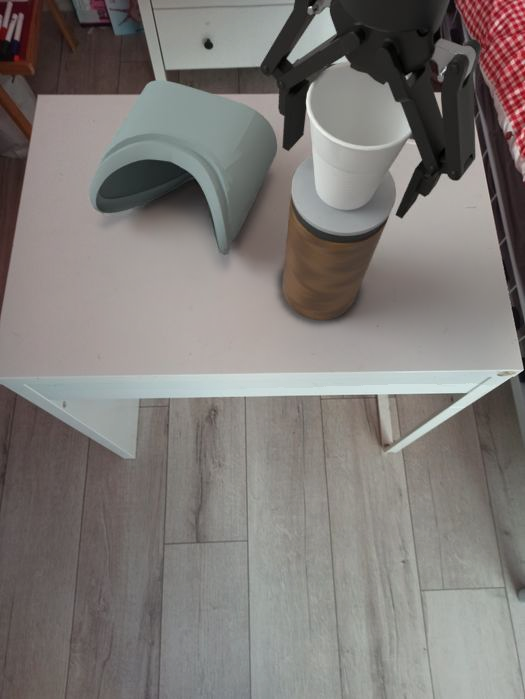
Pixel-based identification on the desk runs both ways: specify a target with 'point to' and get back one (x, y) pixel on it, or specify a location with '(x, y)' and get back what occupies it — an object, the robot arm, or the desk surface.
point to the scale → (335, 221)
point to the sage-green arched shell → (187, 155)
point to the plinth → (323, 270)
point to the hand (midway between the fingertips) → (347, 173)
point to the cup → (353, 134)
